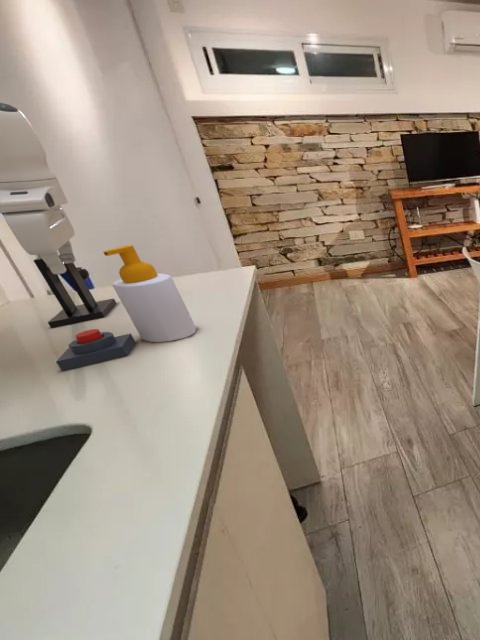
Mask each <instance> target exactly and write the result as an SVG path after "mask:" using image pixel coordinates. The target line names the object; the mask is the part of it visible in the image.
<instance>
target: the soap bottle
mask: <svg viewBox="0 0 480 640" xmlns="http://www.w3.org/2000/svg"><path fill="white" fill-rule="evenodd" d="M102 253H103V255H104V256H106V257H107V256H113V255H117V254H118V255H119V256H120V259H121V260H122V263H123V265H122V266H121V267H120V268H119V272H118V274H119V277H120V278H119V279H117V280H116V279H115V280H114V281H113V282H112V284H111V285H112V287H113V289H114V291H115V293H116V295H117V296H118V298H119V300H120V302H121V304H122V305H123V307H124V309H125V312H126V313H127V314H128V317H129V318H130V320H131V322H132V324H133V326H134V327H135V329H136V331H137V333H138V335H139V336H140V338H141V339H142V340H143V341H146V342H152V343H162V342H172V341H177V340H182V339H184V338H188V337H190V336H192V335H194V334H195V333H196V331H197V326H196V325H195V322H194V321H193V318H192V317H191V314H190V312H189V310H188V308H187V306H186V304H185V301H184V300H183V298H182V296H181V293H180V292H179V290H178V287H177V286H176V283H175V281H174V279H173V278H172V277H171V276H170V275H169V274H166V273H158V272H157V270H156V268H155V267H154V265H153V264H151V263H150V262H144V261H142V260H141V258H140V257H139V255H138V253H137V250H136V249H135V247H134V245H133V244H127V245H122V246H118V247H115V248H114V247H113V248H111V249H107V250H104V251H102Z"/></svg>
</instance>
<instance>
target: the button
mask: <svg viewBox="0 0 480 640" xmlns="http://www.w3.org/2000/svg"><path fill="white" fill-rule="evenodd" d="M74 337H75V340H78V342H79V344H83V343H88V342H92V341H95V340H98V339H100V338H102V337H103V336H102V334H101V331H100V329H98V328H92V329H87V330H83V331H81V332H79V333H76V334H75V335H74Z"/></svg>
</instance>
